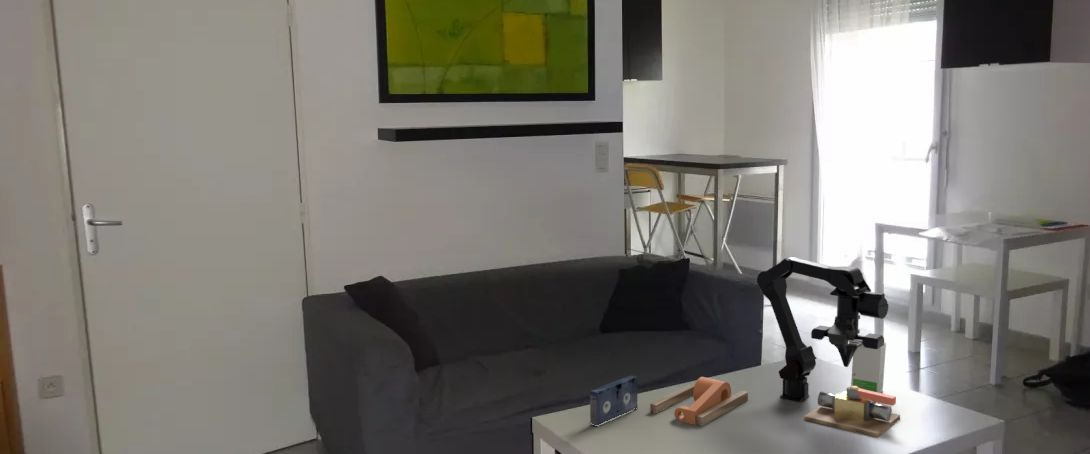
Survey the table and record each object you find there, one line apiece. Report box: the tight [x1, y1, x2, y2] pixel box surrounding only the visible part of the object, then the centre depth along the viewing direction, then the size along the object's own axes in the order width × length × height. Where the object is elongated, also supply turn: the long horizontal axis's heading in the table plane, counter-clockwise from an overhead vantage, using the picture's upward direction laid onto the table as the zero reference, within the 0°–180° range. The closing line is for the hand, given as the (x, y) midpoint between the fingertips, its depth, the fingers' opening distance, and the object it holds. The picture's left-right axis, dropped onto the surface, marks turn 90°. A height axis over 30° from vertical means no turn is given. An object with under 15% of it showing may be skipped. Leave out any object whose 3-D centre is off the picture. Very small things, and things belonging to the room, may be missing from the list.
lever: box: [846, 385, 897, 407], centre depth 223 cm, size 13×4×3 cm, turn 45°
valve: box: [817, 390, 893, 421], centre depth 227 cm, size 19×7×5 cm, turn 48°
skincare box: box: [850, 341, 887, 393], centre depth 248 cm, size 8×7×16 cm
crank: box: [673, 376, 732, 426], centre depth 235 cm, size 20×8×8 cm, turn 138°
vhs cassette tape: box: [589, 374, 638, 425], centre depth 231 cm, size 18×3×10 cm, turn 134°
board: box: [803, 405, 901, 438], centre depth 227 cm, size 20×17×1 cm
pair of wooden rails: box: [649, 381, 749, 427], centre depth 239 cm, size 17×26×2 cm, turn 138°
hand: (846, 366), depth 231 cm, fingers closed
